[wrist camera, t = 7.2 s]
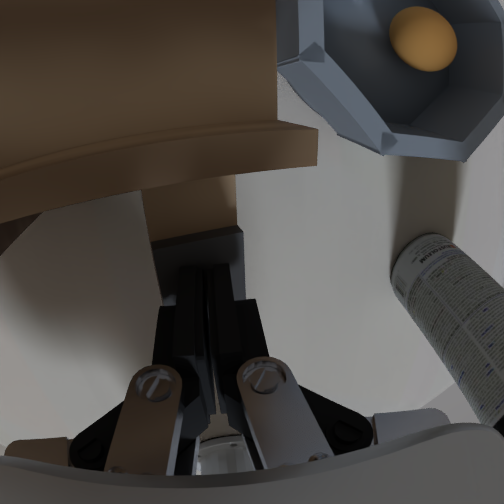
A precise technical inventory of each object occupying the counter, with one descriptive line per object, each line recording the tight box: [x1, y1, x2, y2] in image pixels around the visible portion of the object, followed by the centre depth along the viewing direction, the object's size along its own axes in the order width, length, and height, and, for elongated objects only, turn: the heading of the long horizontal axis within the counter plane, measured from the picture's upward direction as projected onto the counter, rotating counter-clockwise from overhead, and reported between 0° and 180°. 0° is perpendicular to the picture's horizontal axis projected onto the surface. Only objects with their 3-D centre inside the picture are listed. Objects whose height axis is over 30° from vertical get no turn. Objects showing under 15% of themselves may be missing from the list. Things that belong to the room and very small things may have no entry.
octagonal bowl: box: [275, 0, 504, 163], centre depth 12 cm, size 13×13×6 cm
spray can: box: [391, 233, 504, 437], centre depth 15 cm, size 7×7×20 cm
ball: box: [389, 6, 457, 72], centre depth 12 cm, size 4×4×4 cm
